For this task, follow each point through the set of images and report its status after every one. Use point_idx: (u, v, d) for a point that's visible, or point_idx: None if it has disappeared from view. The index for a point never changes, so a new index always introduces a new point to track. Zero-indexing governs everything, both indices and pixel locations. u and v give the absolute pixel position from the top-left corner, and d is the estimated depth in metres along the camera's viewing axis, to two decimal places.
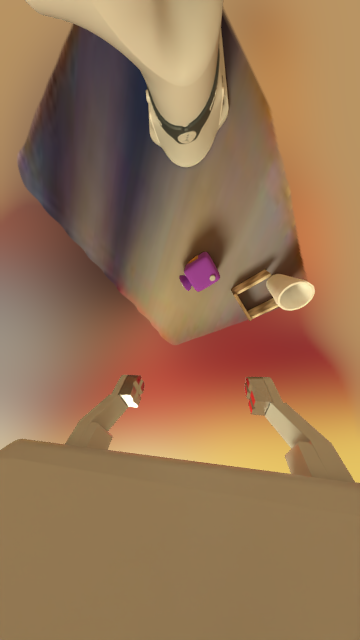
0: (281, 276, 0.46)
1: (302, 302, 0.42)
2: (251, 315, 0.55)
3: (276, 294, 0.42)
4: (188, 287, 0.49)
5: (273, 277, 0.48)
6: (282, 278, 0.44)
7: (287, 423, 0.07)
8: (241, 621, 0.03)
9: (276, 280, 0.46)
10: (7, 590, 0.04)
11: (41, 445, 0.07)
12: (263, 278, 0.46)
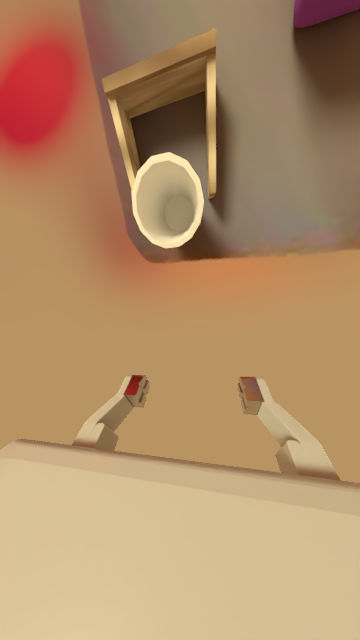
0: None
1: (145, 225, 0.20)
2: (119, 106, 0.19)
3: None
4: None
5: (194, 207, 0.26)
6: None
7: (277, 422, 0.07)
8: (241, 621, 0.03)
9: None
10: (7, 590, 0.04)
11: (41, 445, 0.07)
12: (213, 172, 0.21)
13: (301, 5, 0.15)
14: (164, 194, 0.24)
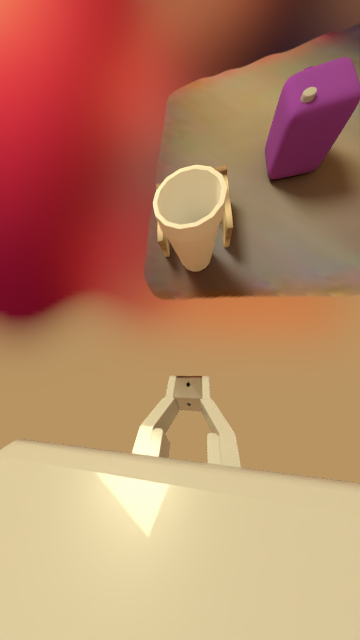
0: None
1: None
2: None
3: None
4: None
5: None
6: None
7: (209, 417, 0.08)
8: (241, 621, 0.03)
9: None
10: (6, 591, 0.04)
11: (41, 445, 0.07)
12: (229, 216, 0.24)
13: (273, 167, 0.27)
14: None
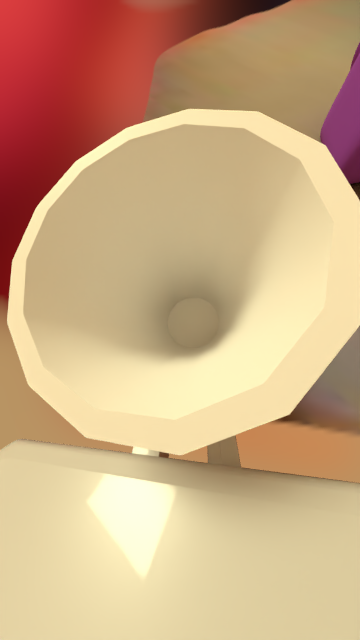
0: None
1: (56, 311, 0.05)
2: None
3: None
4: None
5: None
6: None
7: None
8: (241, 621, 0.03)
9: None
10: (7, 590, 0.04)
11: (41, 445, 0.07)
12: None
13: (349, 160, 0.13)
14: (170, 287, 0.13)
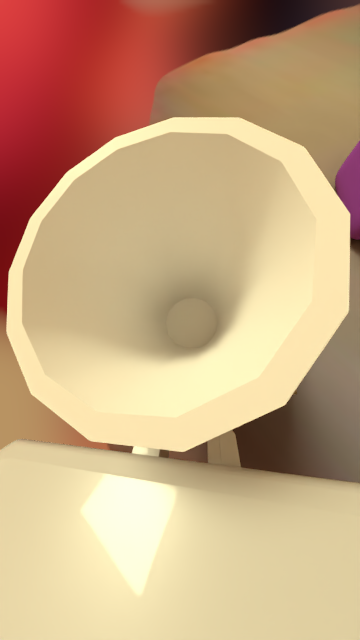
0: None
1: (54, 319, 0.05)
2: None
3: None
4: None
5: None
6: None
7: None
8: (241, 621, 0.03)
9: None
10: (7, 590, 0.04)
11: (41, 445, 0.07)
12: None
13: None
14: (167, 289, 0.13)
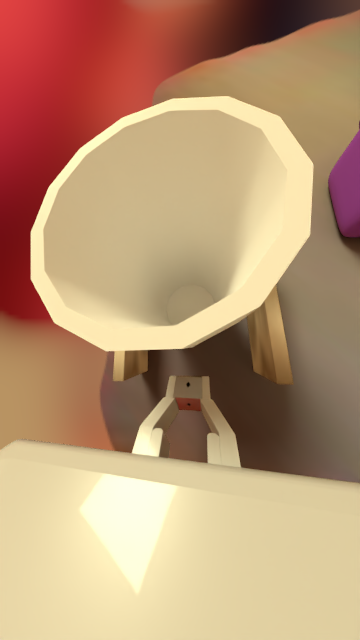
0: None
1: (69, 275, 0.06)
2: None
3: None
4: None
5: None
6: None
7: (209, 417, 0.08)
8: (241, 621, 0.03)
9: None
10: (7, 590, 0.04)
11: (41, 445, 0.07)
12: (280, 349, 0.10)
13: None
14: (167, 273, 0.14)
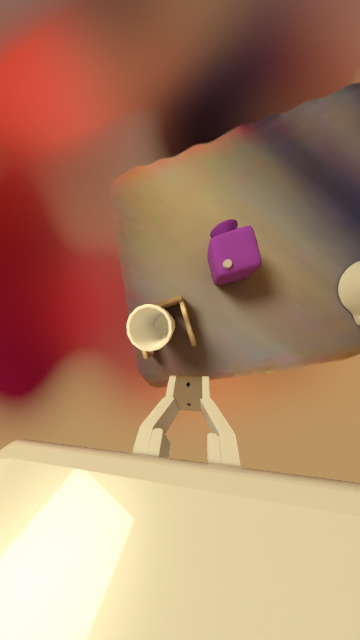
0: (174, 325, 0.35)
1: (135, 339, 0.28)
2: None
3: None
4: (219, 229, 0.31)
5: (173, 319, 0.37)
6: None
7: (209, 417, 0.08)
8: (241, 621, 0.03)
9: (172, 317, 0.34)
10: (7, 590, 0.04)
11: (41, 445, 0.07)
12: (191, 337, 0.34)
13: (215, 283, 0.35)
14: (151, 317, 0.36)
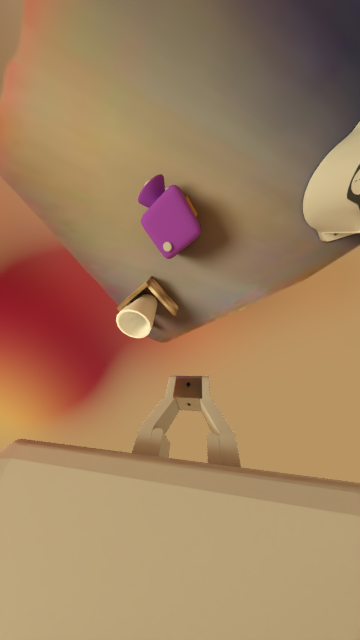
0: (154, 305, 0.42)
1: (130, 332, 0.39)
2: None
3: (130, 306, 0.34)
4: (144, 198, 0.26)
5: (152, 298, 0.43)
6: (151, 306, 0.40)
7: (209, 417, 0.08)
8: (241, 621, 0.03)
9: (149, 301, 0.40)
10: (7, 590, 0.04)
11: (41, 445, 0.07)
12: (170, 310, 0.41)
13: None
14: None
